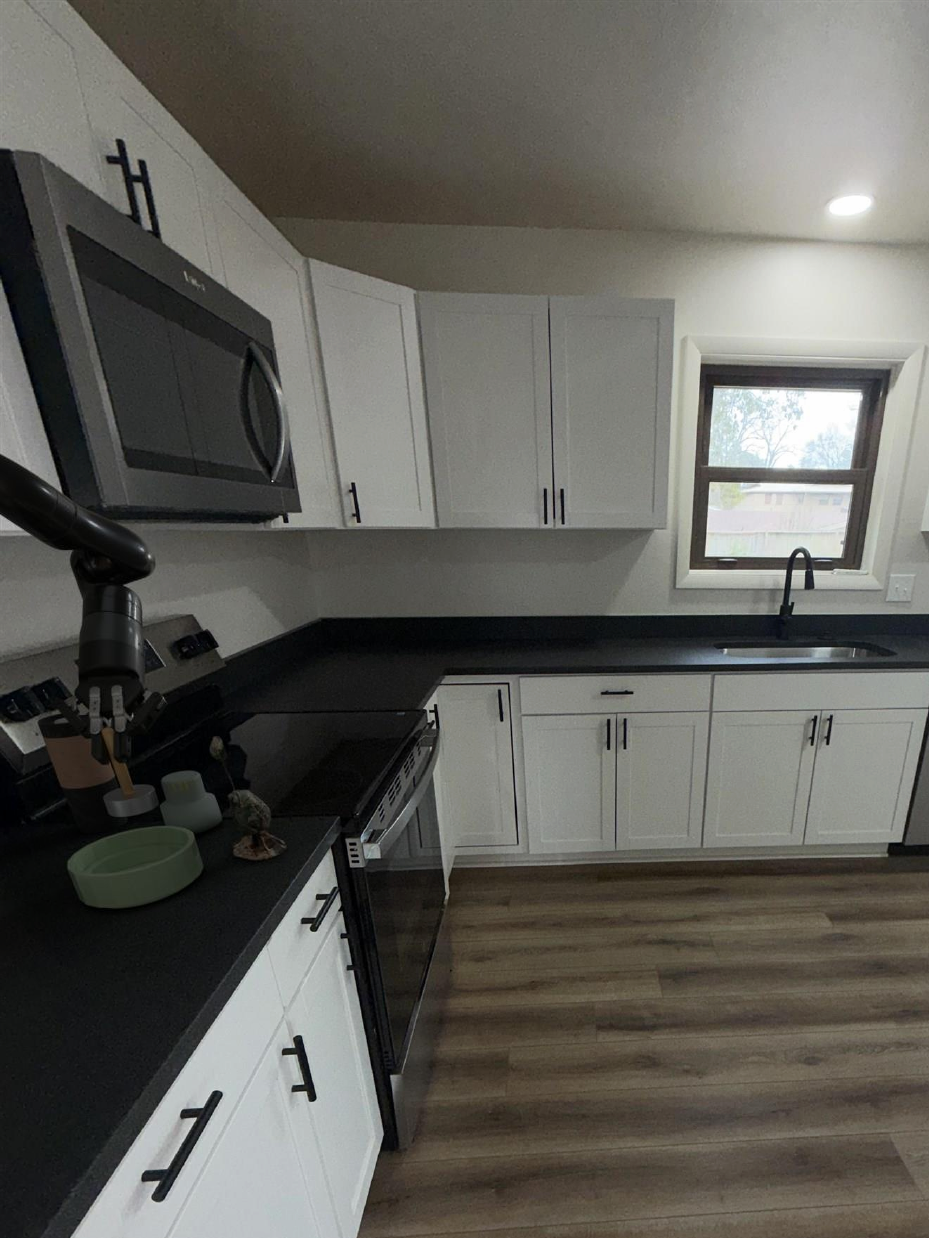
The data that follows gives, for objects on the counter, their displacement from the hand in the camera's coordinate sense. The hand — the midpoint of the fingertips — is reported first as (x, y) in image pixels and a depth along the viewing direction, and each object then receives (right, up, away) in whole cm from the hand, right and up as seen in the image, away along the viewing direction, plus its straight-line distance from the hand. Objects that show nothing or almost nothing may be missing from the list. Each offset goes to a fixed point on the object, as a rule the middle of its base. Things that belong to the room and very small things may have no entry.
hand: (111, 761), depth 87 cm
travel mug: (-24, -9, +30) cm, 39 cm away
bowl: (-3, -18, +11) cm, 21 cm away
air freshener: (-6, -10, +28) cm, 31 cm away
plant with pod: (+10, -14, +20) cm, 26 cm away
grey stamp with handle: (-1, -6, +5) cm, 8 cm away
